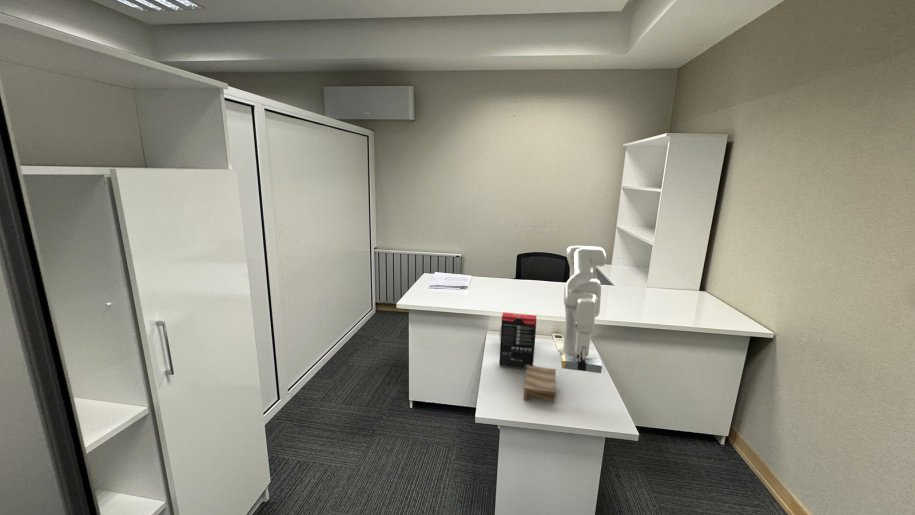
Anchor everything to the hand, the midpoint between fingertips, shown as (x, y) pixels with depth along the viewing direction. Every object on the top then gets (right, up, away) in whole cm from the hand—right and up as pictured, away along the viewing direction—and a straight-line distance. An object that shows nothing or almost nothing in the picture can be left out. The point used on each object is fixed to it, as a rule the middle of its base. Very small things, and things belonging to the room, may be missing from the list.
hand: (581, 366), depth 161 cm
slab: (0, -1, 0) cm, 1 cm away
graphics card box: (-23, -8, +29) cm, 38 cm away
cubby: (-16, -13, +7) cm, 22 cm away
